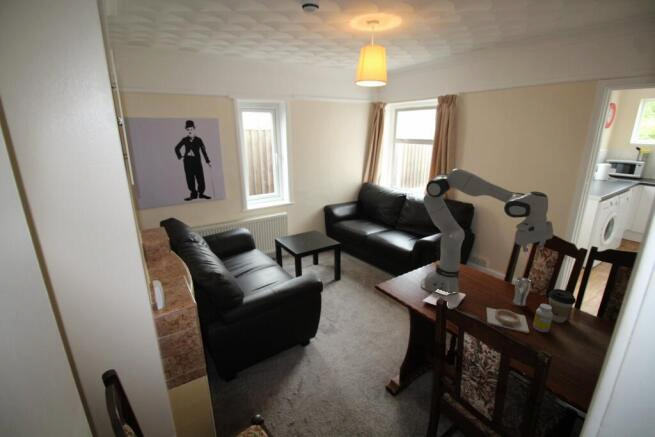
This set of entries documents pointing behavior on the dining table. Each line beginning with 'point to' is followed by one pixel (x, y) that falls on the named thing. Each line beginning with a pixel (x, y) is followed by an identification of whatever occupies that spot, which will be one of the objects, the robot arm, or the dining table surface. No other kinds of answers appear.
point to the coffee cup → (560, 304)
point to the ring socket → (507, 319)
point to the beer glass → (521, 291)
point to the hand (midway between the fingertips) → (533, 249)
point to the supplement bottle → (543, 318)
